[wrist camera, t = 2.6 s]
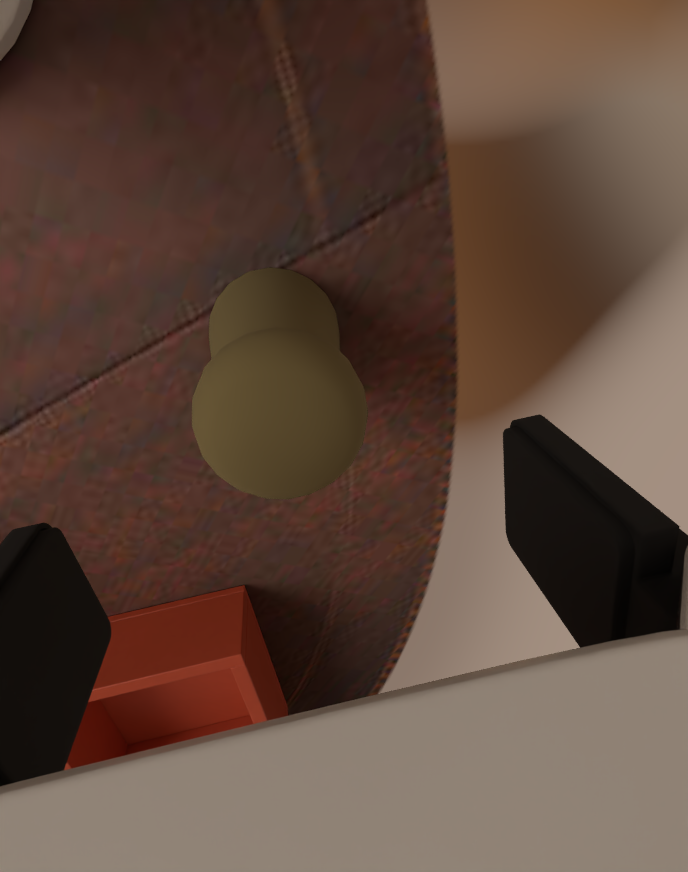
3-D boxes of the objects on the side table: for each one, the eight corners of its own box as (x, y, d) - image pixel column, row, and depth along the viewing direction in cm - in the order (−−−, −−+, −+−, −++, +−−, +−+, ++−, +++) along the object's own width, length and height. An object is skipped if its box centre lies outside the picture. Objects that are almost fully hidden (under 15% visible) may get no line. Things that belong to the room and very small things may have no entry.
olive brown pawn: (355, 289, 23) (424, 364, 13) (319, 407, 25) (354, 545, 15) (222, 249, 21) (188, 300, 12) (197, 379, 24) (150, 513, 14)
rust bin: (47, 630, 29) (8, 710, 25) (244, 584, 30) (241, 654, 25) (122, 747, 34) (101, 830, 30) (287, 706, 35) (291, 781, 30)
